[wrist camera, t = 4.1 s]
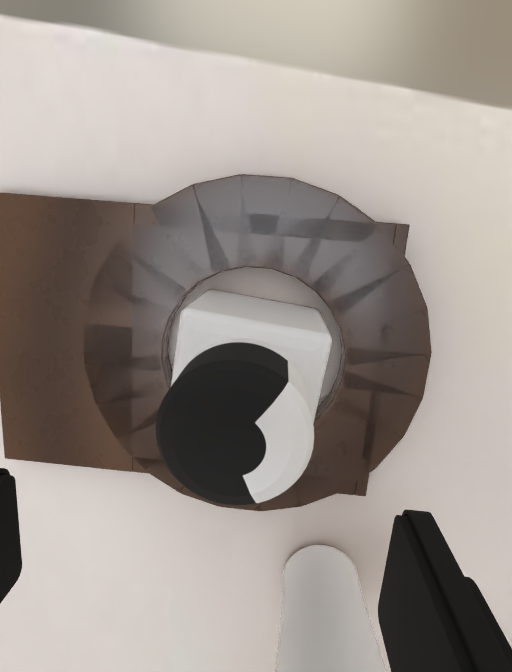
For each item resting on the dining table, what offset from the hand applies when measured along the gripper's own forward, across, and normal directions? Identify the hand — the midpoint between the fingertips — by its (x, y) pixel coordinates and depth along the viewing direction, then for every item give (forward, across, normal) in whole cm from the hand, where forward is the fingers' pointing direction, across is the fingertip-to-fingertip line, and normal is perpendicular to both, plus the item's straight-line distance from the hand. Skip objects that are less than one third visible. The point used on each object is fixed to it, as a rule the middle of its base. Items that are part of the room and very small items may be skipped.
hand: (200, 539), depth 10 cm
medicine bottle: (+17, 0, 0) cm, 17 cm away
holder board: (+17, +2, 0) cm, 17 cm away
